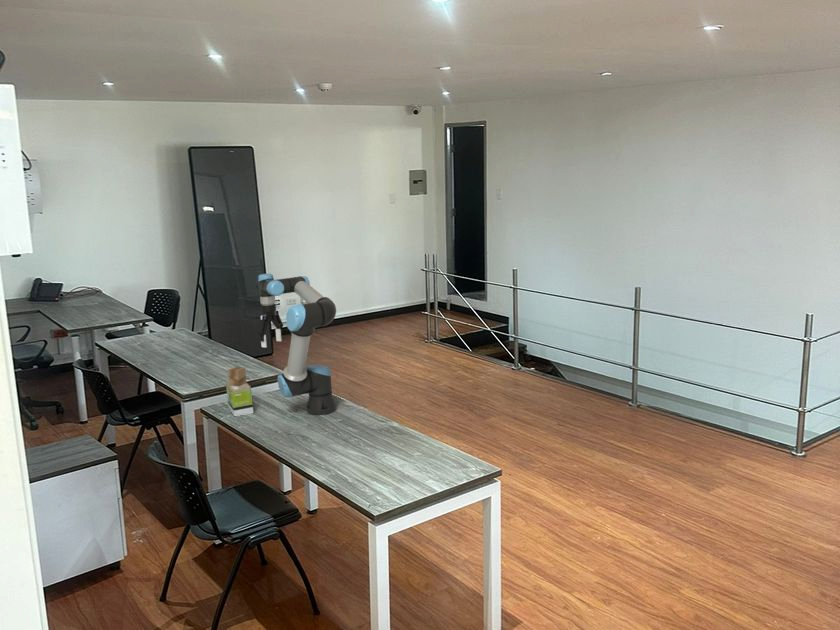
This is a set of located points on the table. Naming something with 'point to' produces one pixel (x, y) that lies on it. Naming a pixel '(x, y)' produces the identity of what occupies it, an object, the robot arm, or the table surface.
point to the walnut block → (237, 376)
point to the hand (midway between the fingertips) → (271, 344)
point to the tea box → (240, 399)
